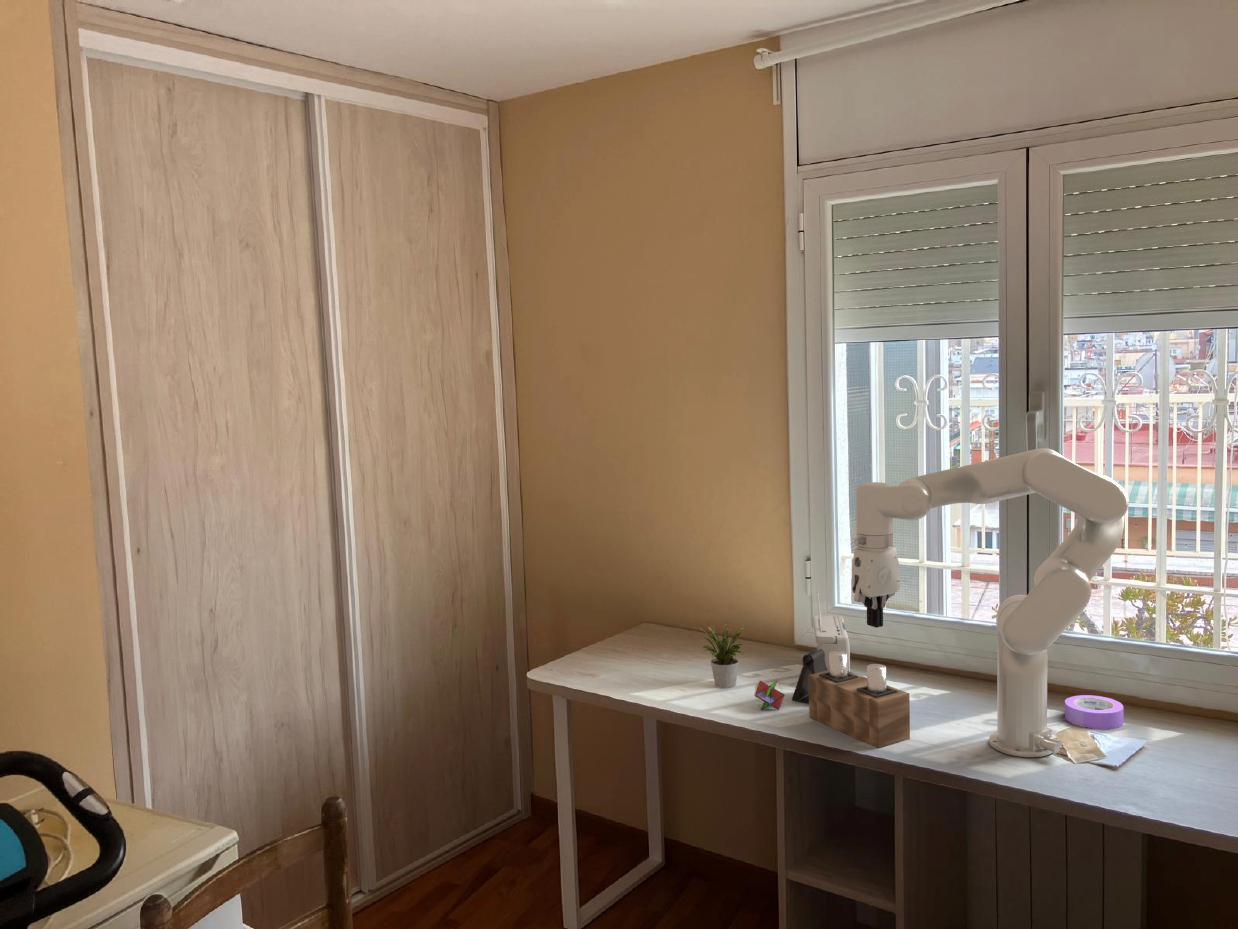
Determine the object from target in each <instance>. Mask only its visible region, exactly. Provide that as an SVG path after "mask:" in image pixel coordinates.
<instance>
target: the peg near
mask: <svg viewBox="0 0 1238 929" xmlns="http://www.w3.org/2000/svg"><path fill="white" fill-rule="evenodd" d="M866 678H867V691H869V692H871V693H874V694H876V695H877V694H881V693H884V692H887V690H886V685H887V666H886V665H884V664H880V663H872V664H868V665H867V666H866Z"/></svg>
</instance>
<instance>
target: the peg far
mask: <svg viewBox="0 0 1238 929" xmlns="http://www.w3.org/2000/svg"><path fill="white" fill-rule="evenodd" d="M829 677H832V678H834V679H837V680H839V679H843V678H847V677H848V670H847V653H846V652H843V651H832V652H830V653H829Z"/></svg>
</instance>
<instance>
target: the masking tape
mask: <svg viewBox="0 0 1238 929" xmlns="http://www.w3.org/2000/svg"><path fill="white" fill-rule="evenodd" d="M1064 718H1065V719H1066V721H1068V722H1070V723H1071V724H1073V725H1075V724H1076V725H1075V726H1078V725H1081V726H1080V727H1082V726H1086V727H1088V729H1094V730H1112V729H1119V728H1121V727H1122V726H1123V725H1124V705H1123V704H1122V702H1120V701H1118V700H1115V699H1114V698H1110V697H1104V696H1102V695H1101V696H1100V695H1089V694H1086V695H1085V694H1081V695H1074V696H1073V695H1072V696H1070V697H1067V698H1066V699H1065V700H1064ZM1086 727H1085V728H1086Z"/></svg>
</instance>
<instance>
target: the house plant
mask: <svg viewBox="0 0 1238 929" xmlns="http://www.w3.org/2000/svg"><path fill="white" fill-rule="evenodd" d="M727 623H728V621H726V622H725V624H724V625H723V632H722V638H721V639H722V640H720V639H719V636H718V632H717V630H716V628H715V627H714V626H713V625H711V624H709V626H708V627H707V629H708V630H709V631H710V633H711V634H709V633H708V632H706V630H704V629H703V628H700V627H697V626H696V627H695V626H694V628H695V629H699V630H701V631H703V632H705V635H706V636H708V637H709V638H708V637H705V639H706V640H707V641H708V642H709V644H710V645H711V646H710V645H707V644H705V645H703V646H702V647H701V648H702V649H705V650H706V651H708V652H710V653H711V660H710V665H711V670H712V676H713V680H714V686H715V687H716V688H719V689H732V688H735V687H736V686H737V685H736V684H737V679H738V671H739V662H740V660H739V659H737V658H736V657H737V654H738V655H740V656H741V657H742V658H744V656H743V655H744V653H743V652H742V651H741V650H740V649H741V648H742V645H743V648H744V649H745V647H744V643H737V644H735V642H736V641H737V639H738V638H739V637H740V636H741V633H742V631H743V630H744V629H745V628H747V625H746V626H743V627H741V628H740V629H738V630H737V631H736V633H735V634H734V635H733V637H732V638H731V640H730V641H729V639H730V629H729V625H727ZM711 627H712V628H713V629H712V628H711ZM732 629H734V626H733V627H732ZM729 642H730V643H729ZM714 657H715V658H714Z"/></svg>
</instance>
